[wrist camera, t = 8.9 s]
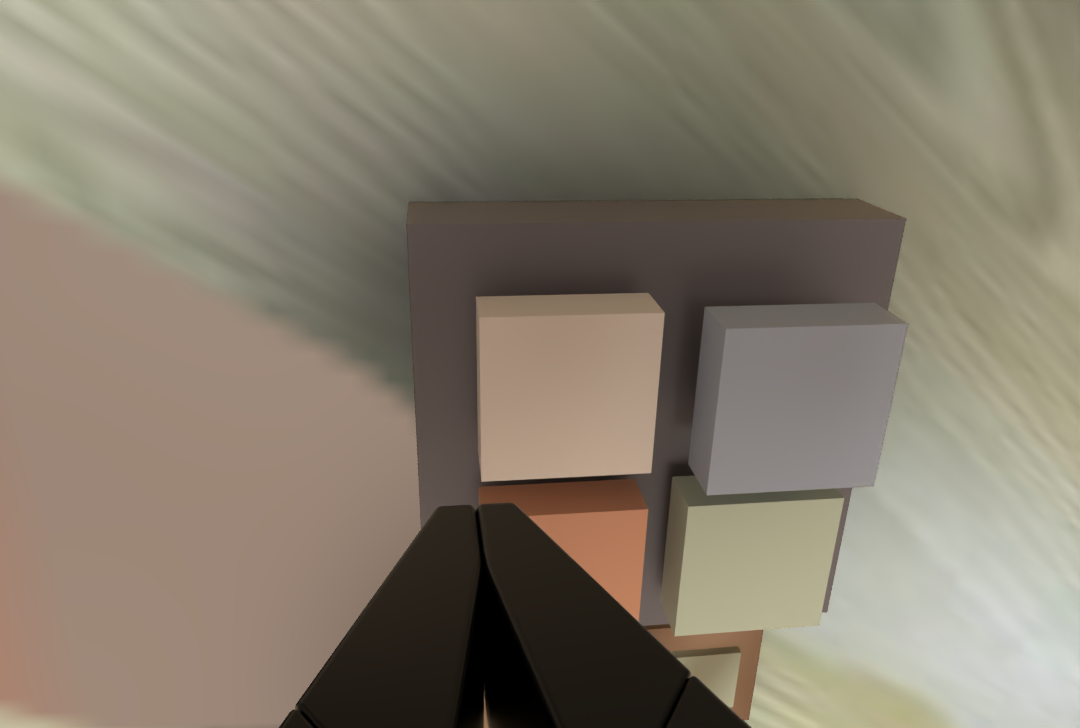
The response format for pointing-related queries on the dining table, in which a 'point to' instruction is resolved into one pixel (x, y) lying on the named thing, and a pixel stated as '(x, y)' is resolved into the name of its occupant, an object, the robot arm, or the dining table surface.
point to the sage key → (747, 558)
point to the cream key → (567, 384)
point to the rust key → (590, 528)
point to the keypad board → (621, 267)
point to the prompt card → (715, 662)
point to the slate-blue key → (793, 396)
